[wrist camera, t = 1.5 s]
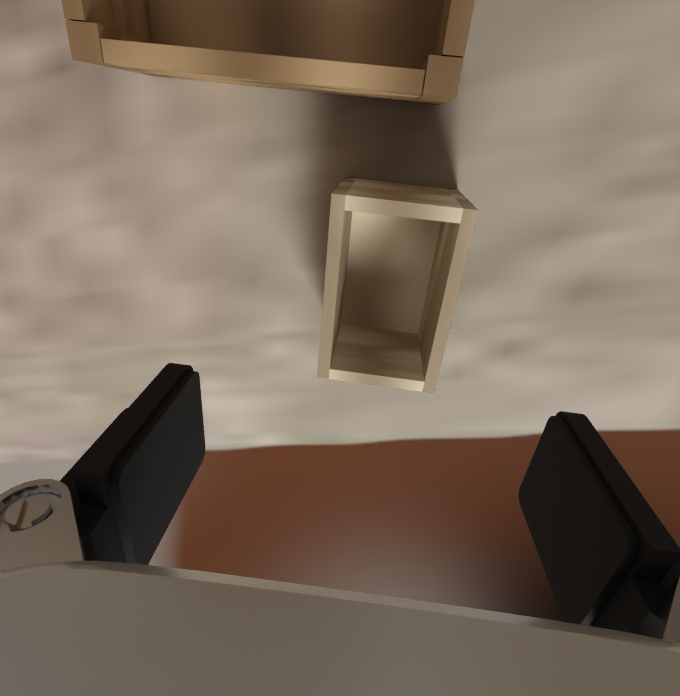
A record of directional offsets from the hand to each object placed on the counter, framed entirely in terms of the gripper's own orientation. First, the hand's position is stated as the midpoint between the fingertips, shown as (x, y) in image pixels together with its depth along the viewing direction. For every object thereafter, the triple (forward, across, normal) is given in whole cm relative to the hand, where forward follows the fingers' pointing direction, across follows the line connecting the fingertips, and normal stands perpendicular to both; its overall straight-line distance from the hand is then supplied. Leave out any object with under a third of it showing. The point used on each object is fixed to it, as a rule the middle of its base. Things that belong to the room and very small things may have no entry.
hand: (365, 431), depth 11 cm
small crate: (+15, -1, 0) cm, 15 cm away
